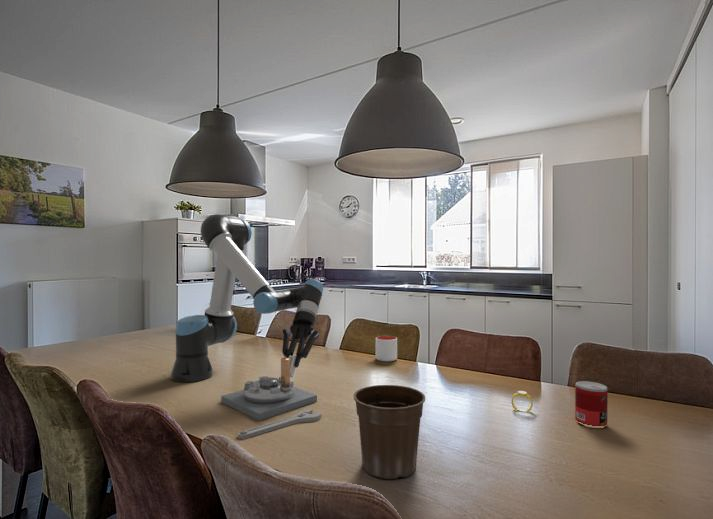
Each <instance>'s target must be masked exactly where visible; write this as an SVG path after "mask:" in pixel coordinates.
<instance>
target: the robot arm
mask: <svg viewBox="0 0 713 519" xmlns="http://www.w3.org/2000/svg"><path fill="white" fill-rule="evenodd" d="M252 231H253V230H252V228H251V225H250V224H249V222H248V221H247V220H246V219H245V218H243V217H238V216H235V215H234V216H233V215H225V214H219V213H217V214H211V215H208V216H207V217H206V218H204V220H203V221H202V223H201V226H200V235H201V239H202V241H203V242H204V244H205V245H206V247H207V248H208V250H210V251H211V252H215V253H216V261H215V266H214V267H215V268H214V275H213V281H212V288H211V293H210V294H211V295H210V302H209V306H208V307H207V308H206V309H204V314H195V315H189V316H184V317H182V318H180V319H178V320H177V322H176V327H175V360H174V362H173V366H172V370H171V372H170V380H171V381H173V382H175V383H176V382H177V383H193V382H199V381H204V380H207V379H209V378H211V377H212V376H213V367H212V364H211V361H210V359H209V350H208V348H209V346H214V345H217V344H222V343H225V342H227V341H230V340H231V339H232V338H233V337H234V336H235V335H236V333H237V329H238V322H237V321H236V319H237V318H235V316H234V313H235V312H234V311H233V310H232V309H231V308H232V302H233V294H234V289H235V282H236V279H237V280H238V281H239V283H240V284H241V285H242V286H243V287H244V289H245V290H246V291H247V292H248V294H250V296H251V297H252V299H253V301H252V304H253V308H254V310H255V311H256V312H257V313H259V314H262V315H263V314H264V315H265V314H266V315H267V314H269V315H270V314H273V313H276V312H279V311H280V312H281V311H285V310H290V309H296V310H295V315H294V316H293V320H292V324H291V326H290V328H288V329H283V330H282V334H283V341H282V349H281V350H282V351H281V352H282V354H283V357H284V358H290V378H294V374H295V371H296V369H297V368H299V366H300V364H301V363H300V362H301V360H302V359H307V357H308V355H309V353H310V352H311V350H312V347H313V345H314V343H315V342H316V340H317V339H318V338H319V336H320V335H319V332H318V330H315V329H314V326H315V323H316V318H317V314H318V311H319V308H320V303H321V300H322V296H323V292H324V285H323V283H322V282H321V281H320V280H319V279H315V278H309V279H307V280H306V281H305V283H304V284H303V286H300V287H294V288H288V289H287V288H286V289H281V290H275V288H273V287H272V286H271V285H270V284H269V283H268V281H267V280H266V279H265V277H263V275H262V274H261V273H260V271H258V269H257V268H256V267H255V265H253V263H252V262H251V260H249V259H248V257H247V256H246V255H245V254H244V249H245V245H247V244H248V243H249V242H250V241H251V238H252V235H253V234H252ZM291 334H292V336H291ZM290 337H291V340H290ZM307 338H308V340H307ZM297 344H298V346H297ZM296 347H297V349H296ZM295 351H296V352H295ZM294 353H295V355H294Z"/></svg>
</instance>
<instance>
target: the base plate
mask: <svg viewBox="0 0 713 519" xmlns="http://www.w3.org/2000/svg"><path fill="white" fill-rule="evenodd" d="M220 399H221V401H220V403H222V404H225V405H226V406H229V407H231V408H233V409H235V410H237V411H239V412H241V413H243V414H244V415H247V416H249V417H251V418H253V419H256V420H257V421H259V422H260V421H263V420H267V419H268V418H272V417H274V416H278V415H280V414H284V413H286V412H289V411H291V410H295V409H298V408H301V407H304V406H308V405H310V404H313V403H316V402H318V394H315V393H313V392H309V391H306V390H304V389H301V388H299V387H295V386H294V396H293V397H292V398H291V399H289V400H287V401H284V402H280V403H275V404H254V403H250V402H247V401H246V400H245V399H244V389H242V390H238V391H235V392H230V393H226V394H223V395H220Z"/></svg>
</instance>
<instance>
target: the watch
mask: <svg viewBox="0 0 713 519" xmlns="http://www.w3.org/2000/svg"><path fill="white" fill-rule="evenodd" d="M517 396H521V397H527V398H528V399H529V400H530V403H531V404H530V406H529V408H527V409H526V410H527V411H529V412H531V410H532V409H533V404H534V403H533V399H532V397H531V395H529V394H528V392H527V391H524V390H517V391H516V392H515V393H514V394H513V395H512V396H511V397H512V398H511V406H512V408H513V409H514V410H515V411H516V410H517V409H518V407H517V406H516V405H515V403H514V399H515V397H517Z"/></svg>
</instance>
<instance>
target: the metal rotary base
mask: <svg viewBox="0 0 713 519" xmlns="http://www.w3.org/2000/svg"><path fill="white" fill-rule="evenodd" d="M294 387H295V383H294V381H291V377H290V358H286V357H282V358H280V376H279V377H278V378H277V377H271V376H268V375H264V376H259V377H258V380H254V381H253V380H247V381H246V382H245V383H244V387H243V390H244V399H245V400H246V401H247V402H250V403H254V404H275V403H280V402H284V401H287V400H289V399H291V398H292V397H293V396H294Z"/></svg>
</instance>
